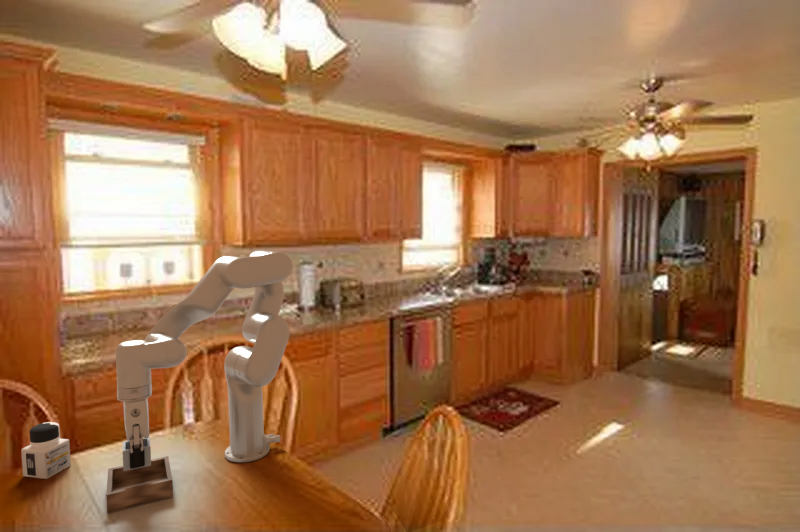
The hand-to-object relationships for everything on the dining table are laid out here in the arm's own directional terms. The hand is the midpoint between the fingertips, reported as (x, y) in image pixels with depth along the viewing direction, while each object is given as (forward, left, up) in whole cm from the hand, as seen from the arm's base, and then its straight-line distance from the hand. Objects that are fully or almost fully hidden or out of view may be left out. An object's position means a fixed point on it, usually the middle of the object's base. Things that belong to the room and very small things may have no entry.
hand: (137, 460), depth 123 cm
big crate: (0, 0, -8) cm, 8 cm away
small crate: (0, 0, -1) cm, 1 cm away
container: (+22, -24, -8) cm, 33 cm away
